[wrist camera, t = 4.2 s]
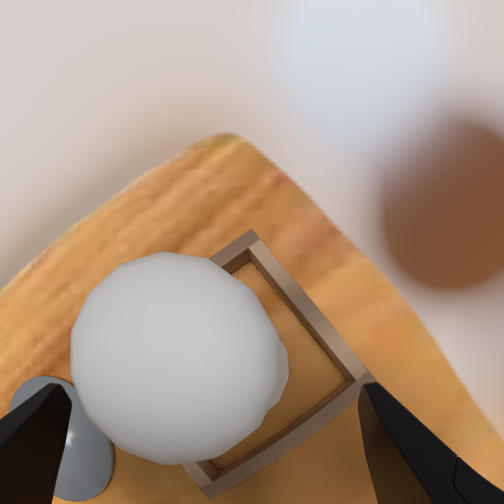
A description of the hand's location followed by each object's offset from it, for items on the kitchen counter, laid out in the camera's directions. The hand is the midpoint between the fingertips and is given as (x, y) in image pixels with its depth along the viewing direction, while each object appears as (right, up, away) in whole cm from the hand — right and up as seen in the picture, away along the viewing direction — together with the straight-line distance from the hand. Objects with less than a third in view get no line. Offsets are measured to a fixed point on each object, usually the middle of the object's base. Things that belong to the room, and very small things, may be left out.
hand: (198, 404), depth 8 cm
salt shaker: (0, -2, +9) cm, 9 cm away
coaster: (-11, -8, +7) cm, 16 cm away
